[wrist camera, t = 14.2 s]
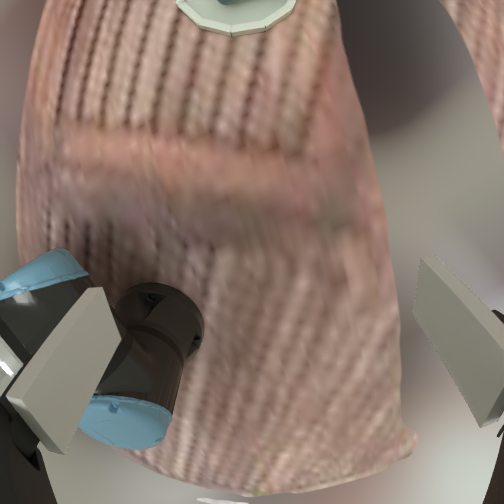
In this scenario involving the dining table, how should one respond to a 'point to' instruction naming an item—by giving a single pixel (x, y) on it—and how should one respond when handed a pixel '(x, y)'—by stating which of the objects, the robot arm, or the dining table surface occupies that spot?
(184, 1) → the saucer
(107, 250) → the dining table surface
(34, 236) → the dining table surface
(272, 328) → the dining table surface
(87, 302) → the robot arm
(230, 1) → the flower pot
